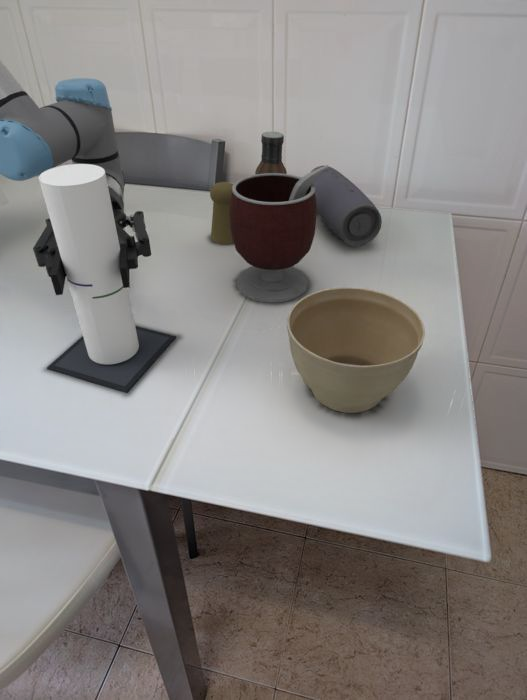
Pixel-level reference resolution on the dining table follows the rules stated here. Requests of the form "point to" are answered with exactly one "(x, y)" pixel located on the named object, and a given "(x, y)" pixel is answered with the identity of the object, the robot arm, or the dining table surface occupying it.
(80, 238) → the cylindrical container
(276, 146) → the sauce bottle
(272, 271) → the mate gourd
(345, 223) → the bluetooth speaker
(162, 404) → the dining table surface
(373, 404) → the planter bowl
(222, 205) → the olive pepper mill
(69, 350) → the charcoal mat
